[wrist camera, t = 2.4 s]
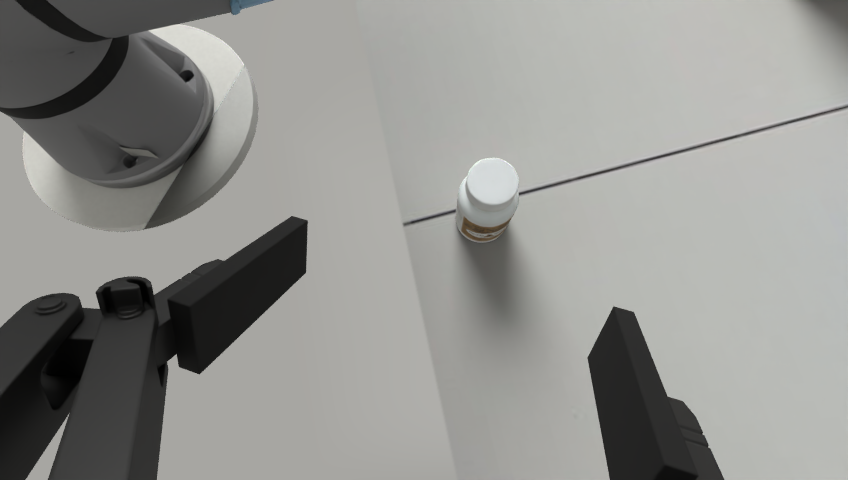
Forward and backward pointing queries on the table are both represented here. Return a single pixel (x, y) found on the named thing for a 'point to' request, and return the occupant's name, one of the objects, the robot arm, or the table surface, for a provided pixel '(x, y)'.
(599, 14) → the table surface
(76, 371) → the robot arm
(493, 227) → the pill bottle
